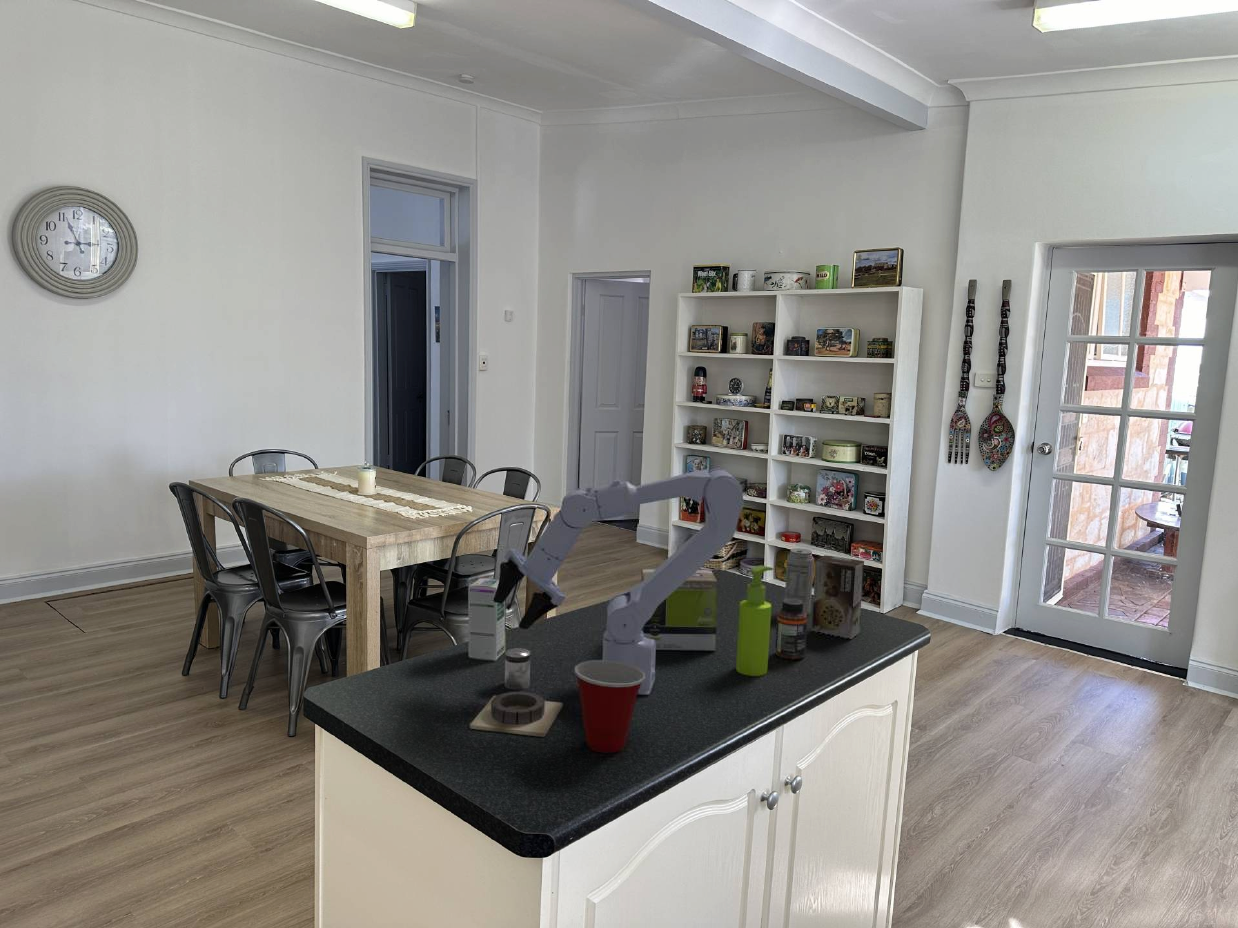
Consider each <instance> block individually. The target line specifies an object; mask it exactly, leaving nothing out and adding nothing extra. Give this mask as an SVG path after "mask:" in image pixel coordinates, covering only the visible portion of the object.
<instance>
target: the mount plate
mask: <svg viewBox="0 0 1238 928" xmlns="http://www.w3.org/2000/svg"><path fill="white" fill-rule="evenodd" d="M562 708H563V702H559V701H558V702H557V701H546V700H544V698H543V696H541V695H539V694H536V693H534V692H530V691H521V690H518V691H517V690H515V691H508V692H506V693H505V692H503V693H500V694H498V695H492V698H491V699H490V700H489V701H488V702H487V703H486V705H485V706H484V707H483V709H481V711H480V712H479V713H478V714H477V715H476V717H475V718H474V719H473V720H472V721H471V723H470V724H469V729H472V730H481V731H488V732H489V731H490V732H498V733H506V734H514V735H515V734H516V735H523V736H524V735H525V736H533V737H542V738H545V736H546V735H547V733H548V731H549V729H550V727H551V726H552V724H553V722H554V721H555V720H556V718H557V716H558V715H559V713H560V711H561V710H562Z"/></svg>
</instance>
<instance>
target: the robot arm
mask: <svg viewBox="0 0 1238 928" xmlns="http://www.w3.org/2000/svg"><path fill="white" fill-rule="evenodd" d="M682 497H685V498H688V499H690V500H693V501H695V502H698V503H700V504H701V503H703V500H704V505H705V524H704V525H703V527H701V528H700V529H699V530H698V531H697V532H696V533H695V534H693V535H692V536H691V537H690V538H688V540H686V542H684V544H682V545H680V547H679V548H677V550H676V551H674V552H673V553H672V554H671V555H670V556H669V557H668V558H666V560H664V562H663V563H661V564H660V565H659V566H658V567H657V568H655V569H656V570H655V571H654V572H652V573H651V574H650V575H649V576H648V577H647V578H646V579H645V580H644V581H642V582H641V581H640V582H639V583H637V584H635V585H633V586H632V587H630V588H629V589H628V590H627V591H625V592H621V593H619V594H616V595H614V596H613V597H611V598H610V600H609V601H608V603H607V606H606V616H607V617H606V618H607V620H606V623H605V625H606V630H605V631H603V639H602V640H603V641H602V660H608V661H617V662H622V663H626V664H630V665H632V666H635V667H637V668H639V669H641V670H642V671H643V672H644V673H645V680H644V681H643V682H642V683H641V685H640V689H639V691H638V694H637V695H643V696H644V695H645V696H649V695H650V693H651V691H652V688H653V686H654V682H655V679H656V670H655V669H656V653H657V652H656V651H657V650H656V642H655V640H653V639H649V638H646V637H644V633H643V632H642V628H643V626H644V624H645V623H646V622H647V621H648V620H649V619H650V618H651V617H652V615H653V613H654V612H655V610H656V608H657V607H658V605H659V604H661V603H662V602H663V601H664V600H665V599H666V598H667V597H668V596H669V595H671V594H672V593H673V592H674V591H675V590H676V589H677V588H678V587H679V586H681V585H682V584H683V583H684V582H685V581H686V580H687V579H688V578H689V577H691V576H692V575H693V574H694V573H695V572H696V571H697V570H698V569H701V568H702V567H703V566H704V565H705V564H706V563H708V561H710V560H711V559H712V558H714V556H716V554H717V553H719V551H720V550H721V549H723V548H724V547H726V545H728V543H730V542H731V541H732V539H733V538H734V536H735V532H736V529H737V525H738V522H739V519H740V515H741V512H742V510H743V509H744V507H745V503H744V495H743V487H742V485H741V483H740V482H739V481H738V480H737V479H736V478H735V477H734V476H733V473H731V472H730V471H728V470H727V469H724V468H721V467H718V468H713V469H712V468H711V469H710V470H707V469H706V470H705V469H704V470H703V469H700V470H695V471H690V472H687V473H683V474H678V475H673V476H671V477H666V478H662V479H660V480H654V481H651V482H648V483H644V484H640V485H634V484H632V483H630V482H629V481H627V480H626V481H621V480H620V478H617V479H614V480H612V483H611V484H607V485H603V486H598V487H594V488H593V487H592V485H589V486H586V487H585V490H581V489H579V490H578V489H576V490H575V489H574V490H572V491H570V492H569V493H568V494H567V495H565V496H563V499H562V501H561V508H560V509H559V510H558V512H556V513H555V515H554V516H553V519H552V520H551V521H550V522H549V523H547V526H546V527H545V528H544V531H543V532H542V534H541V535H540V537H539V538H538V540H537V541H536V543H535V545H534V546H533V548H532V550H531V551H530V553H529V554H528V556H527V558H526V556H524V555H523V554H521V553H520V552H519V551H518V550H517V549H513V548H509V549H508V551H507V552H506V554H505V556H504V559H505V560H507V561H505V562H504V561H502V562H501V563H500V565H499V583H498V587H497V590H496V593H495V596H494V599H493V601H494V602H495V603H503V602H504V601H505V600H506V601H507V599H508V597H509V595H510V594H511V592H512V591H513V589H514V588H515V587H516V586H517V585H518V583H519V582H520V581H521V580H522V579H523V578H524V577H526V578H527V579H529V581H530V582H532V583H533V584H534V585H535V586H536V587H537V588H538V589H539V590H540V592H542V593H540V592H537V591H536V592H533V594H532V597H531V601H530V603H529V606H528V608H527V610H526V612H525V613H524V615H523V616H522V618H521V620H519V623H518V627H519V628H520V629H523V630H528V629H529V628H530V627H531V626H533V624H534V623H535V622H537V620H539V619H540V618H541V617H543V616H544V615H545V614H548V612H551V611H553V610H554V609H556V608H558V606H561V605H562V604H563V603H564V601H565V599H566V598H567V596H566V595H565V594H564V593H563V592H562V591H561V589H560V588H559V587H558V585H557V584H556V583H555V582H554V580H553V578H554V576H555V575H556V574H557V573H558V570H560V568H561V566H562V565H563V563H564V561H565V560H566V558H567V556H569V553H570V551H571V550H572V549H573V548H574V546H575V544H576V543H577V541H578V539H579V536H580V534H581V532H582V530H583V529H584V528H587V527H589V526H590V525H591V523H592V522H593V521H594V520H595V521H602V520H603V521H604V520H607V519H612V518H616V517H617V518H618V517H623V516H627V515H631V514H634V513H635V512H636V510H637V508H638V507H639V506H640V505H643V504H648V503H653V502H660V501H666V500H671V499H676V498H682Z"/></svg>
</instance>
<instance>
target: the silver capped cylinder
mask: <svg viewBox="0 0 1238 928" xmlns="http://www.w3.org/2000/svg"><path fill="white" fill-rule="evenodd" d="M531 654H532V652H531V650H529V649H527V648H521V647H517V648H515V647H514V648H510V649H507V650H506V651H505V652H504V687H505V688H506V689H509V690H515V691H517V690H518V691H521V690H525V689H527V688H529V687H530V685H531V684H530V683H531V679H530V678H531V674H530V673H531V656H532V655H531Z"/></svg>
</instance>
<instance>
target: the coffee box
mask: <svg viewBox="0 0 1238 928" xmlns="http://www.w3.org/2000/svg"><path fill="white" fill-rule="evenodd" d="M814 564H815V565H814V580H813V581H814V584H813V585H814V586H813V602H812V604H813V605H812V616H811V617H812V618H811V630H812V631H815V632H814V633H817V632H822V633H825V634H824V635H827V634H831V635H830V636H832V635H834V636H833V637H837V636H840V637H839V638H842V637H843V639H847V638H849V639H848V640H852V639H853V638H855V637H854V636H858V635H859V634H860V629H861V613H862V611H861V610H862V599H863V598H862V597H863V583H864V581H863V580H864V567H865V566H864V565H865V561H864V560H859V559H852V558H847V557H840V556H834V555H833V556H832V555H826V554H825V555H822V556H821V557H819V558H818V559H817V560H815V561H814ZM812 631H811V632H812ZM822 633H821V634H822Z"/></svg>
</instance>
